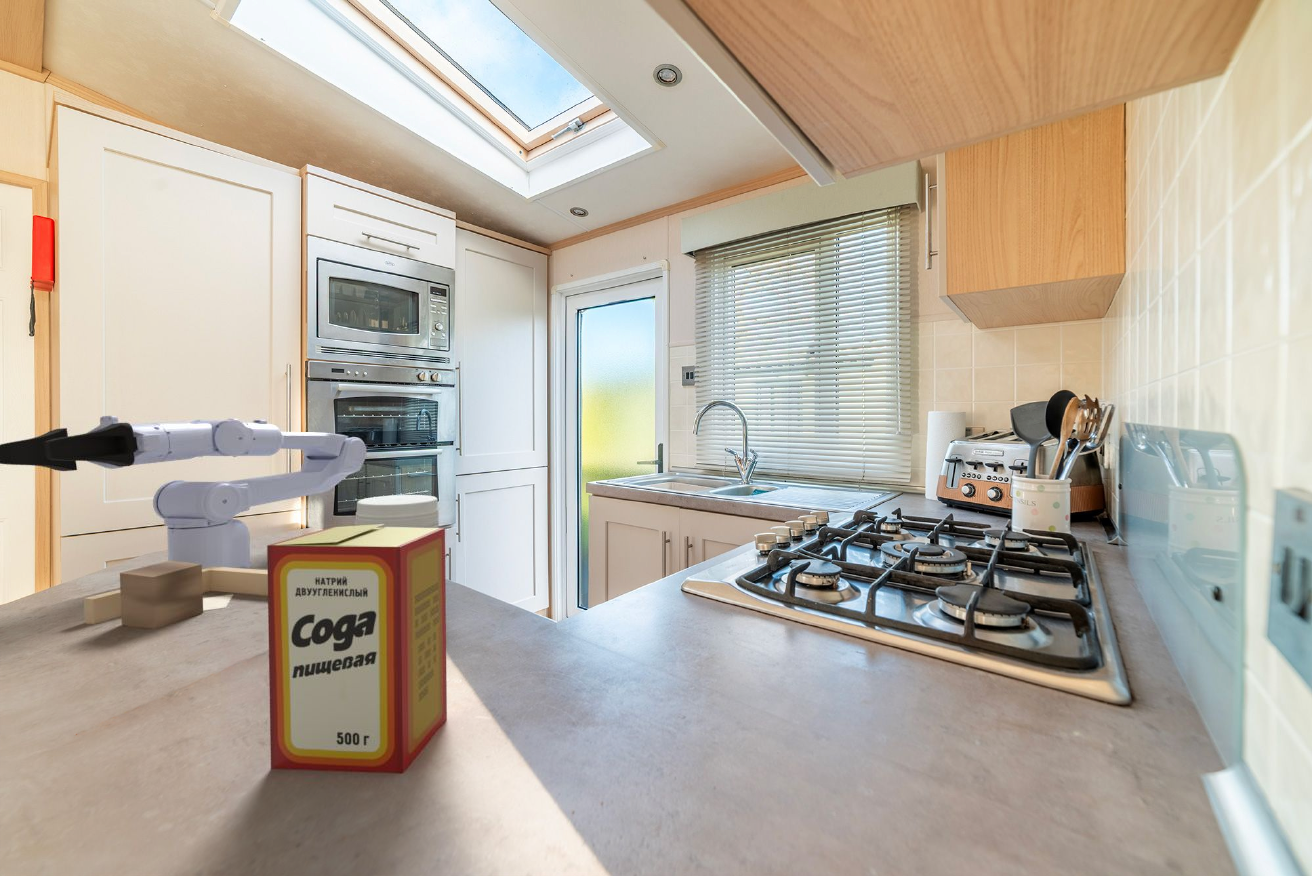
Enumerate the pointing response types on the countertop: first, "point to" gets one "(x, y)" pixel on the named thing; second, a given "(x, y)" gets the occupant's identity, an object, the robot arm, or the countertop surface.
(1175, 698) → the countertop surface
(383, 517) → the supplement tub
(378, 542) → the baking soda box
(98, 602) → the corner board
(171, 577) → the walnut block
